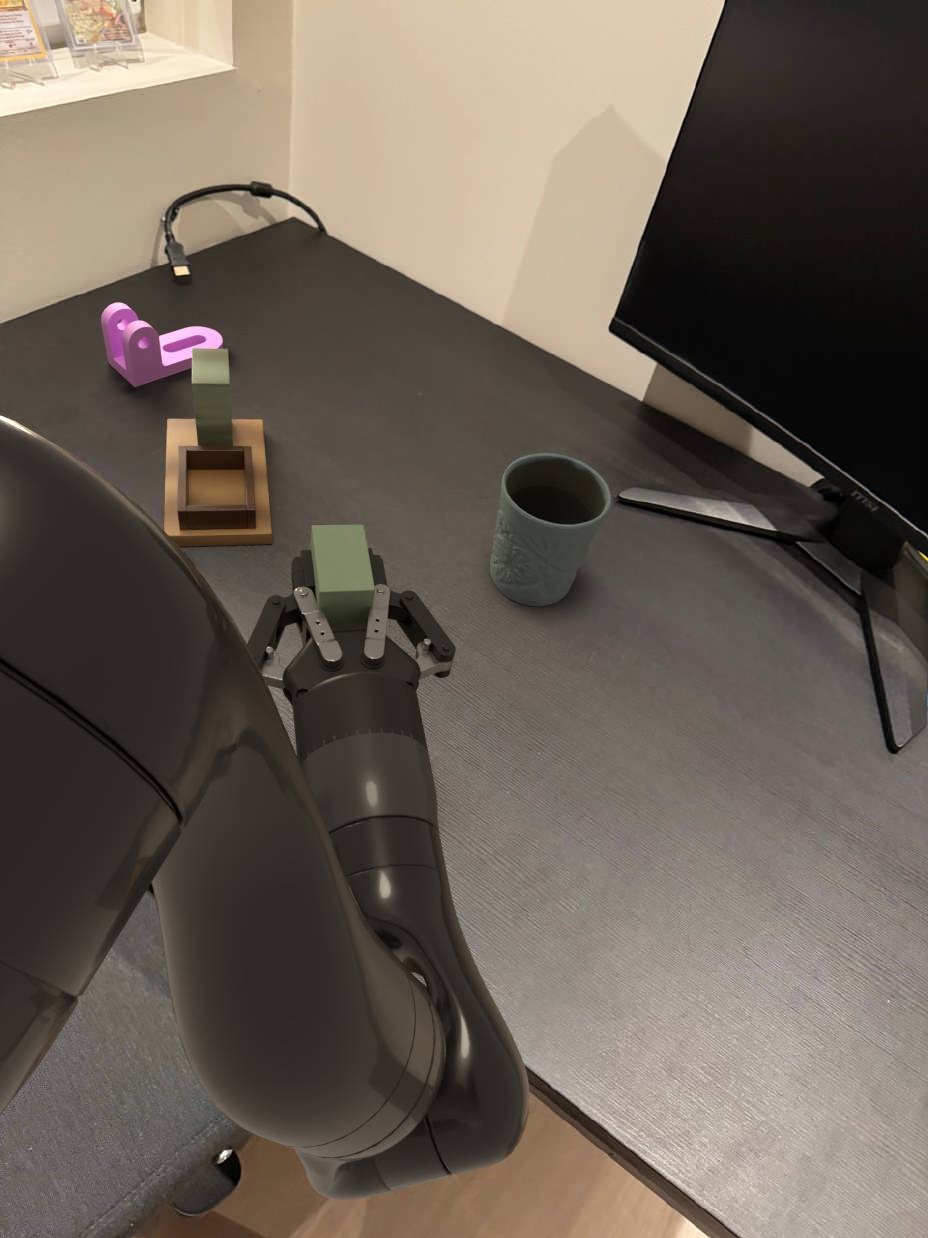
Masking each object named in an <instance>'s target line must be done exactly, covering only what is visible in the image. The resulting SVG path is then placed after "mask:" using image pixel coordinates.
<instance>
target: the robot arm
mask: <svg viewBox="0 0 928 1238" xmlns="http://www.w3.org/2000/svg"><path fill="white" fill-rule="evenodd" d="M368 553H369V558H370V564H371V570H372V575H373V581H374V587H375V594H374V602H373V608H371V607H370V609H369V617H368V625H359V626H356V627H352V628H340V627H330V626H329V623H328V621H327V619H326V616H325V614H324V612H323V610H322V609H321V610H318V603H317V601H316V598H315V579H314V570H313V561H312V553H311V548H304V549H303V548H302V549H300V556H293V558H292V560H291V567H290V569H291V571H290V572H291V575H290V577H291V588H292V593H290V594H289V595H286V596H282V595H280V594H272V595H270V596H269V597H267V599H266V601H265V603H264V606H263V608H262V610H261V612H260V614H259V617H258V619H257V621H256V623H255V625H254V628H253V630H252V632H251V634H250V637H249V638H248V641H247V642H246V640H245V638H244V636H243V635H242V632H241V631H240V629H239V627H238V625H237V623H236V622H235V621H234V619H233V617H232V616H231V614H230V613H229V611H228V609H227V608H226V607H225V605H224V604H223V602H222V600H221V599H220V598H219V596H218V595H217V593H216V592H215V591H214V589H213V588H212V587H211V585H210V584H209V582H208V581H207V580H206V578H205V577H204V575H203V574H202V573H201V571H200V570H199V569H198V567H197V566H196V564H195V563H194V562H193V561H192V560H191V558H189V556H188V554H186V553H185V552H184V550H183V549H182V548H181V546H180V547H179V546H178V545H177V544H176V543H175V542H174V541H173V540H172V538H171V537H170V536H169V535H168V534H167V533H166V532H165V531H164V528H162V527H161V526H160V525H159V524H158V523H157V522H156V521H155V520H154V519H153V518H152V517H151V516H150V515H149V514H148V513H147V512H146V511H145V510H144V509H143V508H142V507H141V505H139V504H138V503H137V501H135V500H134V499H133V498H131V497H130V496H129V495H128V494H126V492H124V491H122V490H121V489H120V488H119V487H118V486H116V485H115V484H114V483H113V482H111V481H109V479H107V478H106V477H104V476H103V475H102V474H101V473H99V472H98V471H96V470H95V469H94V468H93V467H91V466H90V465H89V464H88V463H86V462H85V461H84V460H82V459H81V458H79V457H78V456H77V455H75V454H73V453H72V452H70V451H68V450H66V449H65V448H63V447H61V446H59V445H58V444H56V443H54V442H52V441H50V440H48V439H47V438H45V437H44V436H42V435H40V434H38V433H37V432H35V431H33V430H32V429H30V428H28V427H26V426H24V425H23V424H21V423H19V422H18V421H15V420H13V419H10V418H8V417H5V416H3V415H1V414H0V1116H1V1115H2V1114H3V1112H5V1110H6V1109H7V1108H8V1106H9V1105H10V1104H11V1103H12V1102H13V1100H14V1099H15V1098H16V1096H17V1095H18V1094H19V1093H20V1092H21V1091H22V1089H23V1087H24V1086H25V1085H26V1083H27V1082H28V1081H29V1079H31V1076H32V1075H33V1074H34V1073H35V1071H36V1070H37V1069H38V1067H39V1066H40V1064H41V1063H42V1061H43V1060H44V1058H45V1056H46V1055H47V1054H48V1052H49V1050H50V1049H51V1048H52V1046H53V1044H54V1043H55V1041H56V1040H57V1038H58V1036H60V1033H61V1032H62V1030H63V1029H64V1027H65V1026H66V1024H67V1023H68V1021H69V1019H70V1018H71V1016H72V1014H73V1012H74V1011H75V1009H76V1007H77V1006H78V1005H79V998H78V997H81V996H83V995H84V993H85V991H86V990H87V989H88V987H89V985H90V983H91V982H92V980H93V979H94V977H95V976H96V973H97V972H98V970H99V969H100V967H101V965H103V962H104V961H105V959H106V957H107V956H108V954H109V952H110V951H111V950H112V947H113V946H114V945H115V943H116V941H117V940H118V938H119V936H120V934H121V933H122V931H123V930H124V928H125V927H126V925H127V923H128V921H129V920H130V918H131V917H132V915H133V913H134V911H135V910H136V908H137V906H138V905H139V904H140V902H141V900H142V899H143V897H144V895H145V894H146V892H147V890H148V889H149V887H150V886H152V890H153V891H152V892H153V895H154V900H155V905H156V910H157V914H158V920H159V925H160V932H161V938H162V945H163V950H164V959H165V966H166V967H165V968H166V974H167V981H168V988H169V995H170V1000H171V1006H172V1007H171V1008H172V1013H173V1016H174V1020H175V1024H176V1028H177V1031H178V1036H179V1039H180V1043H181V1047H182V1049H183V1052H184V1055H185V1057H186V1060H187V1062H188V1064H189V1067H190V1068H191V1070H192V1072H193V1074H194V1076H195V1078H196V1080H197V1082H198V1084H199V1086H200V1087H201V1089H202V1090H203V1092H204V1093H205V1094H206V1095H207V1097H208V1098H209V1099H210V1100H211V1102H212V1103H213V1104H214V1105H215V1106H216V1107H217V1109H218V1110H220V1112H221V1113H222V1114H224V1116H225V1117H227V1118H228V1119H229V1120H231V1121H232V1122H234V1123H235V1124H237V1125H238V1126H239V1127H240V1128H242V1129H243V1130H245V1131H248V1133H251V1134H252V1135H255V1136H258V1137H260V1138H262V1139H266V1140H268V1141H271V1142H273V1143H275V1144H278V1145H281V1146H284V1147H286V1148H289V1149H292V1150H293V1151H294V1152H295V1154H296V1155H297V1157H298V1158H299V1162H300V1164H301V1167H302V1170H303V1172H304V1175H305V1177H306V1179H307V1180H308V1183H309V1184H310V1186H311V1187H312V1188H313V1190H314V1191H315V1192H316V1193H317V1194H318V1195H320V1196H322V1197H324V1198H327V1199H330V1200H340V1201H351V1200H352V1201H353V1200H361V1199H367V1198H372V1197H376V1196H381V1195H384V1194H388V1193H393V1192H395V1191H398V1190H402V1189H406V1188H411V1187H414V1186H418V1185H422V1184H425V1183H430V1182H433V1181H437V1180H441V1179H445V1178H448V1177H449V1178H450V1177H452V1176H453V1175H454V1176H455V1175H460V1174H464V1173H469V1172H473V1171H477V1170H480V1169H484V1168H488V1167H490V1166H491V1167H492V1166H493V1165H496V1164H498V1163H501V1162H503V1161H504V1160H506V1159H507V1158H509V1156H511V1155H512V1153H513V1152H514V1151H515V1150H516V1148H517V1146H519V1144H520V1142H521V1139H522V1137H523V1135H524V1132H525V1129H526V1125H527V1121H528V1118H529V1114H530V1113H529V1112H530V1085H529V1078H528V1074H527V1070H526V1066H525V1063H524V1059H523V1057H522V1055H521V1053H520V1052H521V1051H520V1050H519V1048H518V1045H517V1042H516V1041H515V1039H514V1035H513V1034H512V1033H511V1030H510V1028H509V1027H508V1024H507V1023H506V1021H505V1019H504V1017H503V1014H502V1013H501V1011H500V1009H499V1008H498V1005H497V1004H496V1002H495V1000H494V997H493V996H492V994H491V992H490V989H488V987H487V984H486V983H485V981H484V978H483V977H482V976H483V975H482V974H481V972H480V970H479V968H478V966H477V964H476V962H475V959H474V957H473V955H472V952H471V949H470V947H469V945H468V943H467V940H466V938H465V935H464V932H463V928H462V926H461V923H460V920H459V917H458V914H457V911H456V907H455V904H454V900H453V895H452V891H451V886H450V881H449V876H448V870H447V865H446V860H445V855H444V850H443V845H442V839H441V835H440V828H439V827H440V826H439V816H438V796H437V789H436V784H435V778H434V774H433V769H432V763H431V758H430V753H429V748H428V743H427V738H426V733H425V728H424V722H423V718H422V712H421V708H420V702H419V697H418V692H417V690H418V688H419V685H420V682H419V681H420V680H422V679H425V678H427V677H430V676H435V677H436V678H437V679H446V678H447V677H448V676H450V674H451V670H452V666H453V662H454V658H455V654H456V650H457V647H456V646H455V643H453V641H452V640H451V638H450V637H449V635H447V633H446V632H445V630H444V629H443V627H441V625H440V623H439V622H438V621H437V619H436V618H435V617H434V615H433V614H432V613H431V611H430V610H429V608H428V607H427V606H426V604H425V602H423V600H422V599H421V598H420V596H419V595H418V594H417V593H416V592H415V591H414V590H407V589H406V590H404V591H402V592H401V593H400V592H397V591H393V590H392V589H390V587H389V586H388V581H387V575H386V570H385V565H384V564H385V563H384V560H383V558H382V557H381V555H380V554H374V553H373V548H372V547H368ZM388 620H393V621H396V624H397V625H398V626H399V628H400V629H401V630H402V632H403V633H404V634H405V637H407V639H408V640H409V642H410V643H411V644H412V646H413V647H414V649H415V653H414V654H415V655H414V658H413V657H412V656H411V655H410V654H408V653H407V651H405V650H404V649H403V648H402V647H400V645H398V644H397V643H396V642H395V641H394V640H393V639H391V638H390V637H389V636H388V635H387V626H388ZM293 624H295V625H296V628H297V630H298V633H299V636H300V638H301V643H302V644H301V645H302V648H301V649H300V650H299V651H298V653H296V654H295V656H294V657H293V659H292V660H291V661H290V662H289V664H288V665H287V667H284V666H282V665H281V664H280V662H281V661H280V654H279V652H278V651H277V649H278V646H279V644H280V641H281V639H282V637H283V635H284V632H285V629H286V627H287V626H291V625H293ZM269 687H273V688H277V689H282V693H283V695H284V697H285V698H286V699H287V701H288V702H289V704H290V705H291V708H292V716H293V726H294V727H293V728H294V740H295V748H294V746H293V743H292V741H291V739H290V735H289V733H288V731H287V728H286V726H285V723H284V721H283V719H282V716H281V715H280V711H279V709H278V707H277V704H276V702H275V700H274V697H273V694H272V692H271V690H270V688H269ZM414 974H416V975H419V976H420V977H422V978H423V981H424V983H425V986H426V988H425V987H424V985H423V984H422V983H421V981H419V980H418V978H417V977H416V976H415V975H414ZM426 989H427V990H426Z"/></svg>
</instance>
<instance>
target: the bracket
mask: <svg viewBox="0 0 928 1238" xmlns="http://www.w3.org/2000/svg"><path fill="white" fill-rule="evenodd" d="M100 316H101V317H100V324H101V329H102V330H101V331H102V336H103V341H104V346H105V347H104V348H105V352H106V357H107V364H109V365H110V366H111V367H112V368H113V369H114V370H115V371H116V372H118V374H120V375H121V376H122V377H123V378H124V379H125V381H127V382H128V383H129V384H131V386H132V387H134V388H138V387H140V386H143V385H146V384H150V383H152V382H156V381H158V380H161V379H164V378H166V377H170V376H172V375H176V374H178V373H182V372H184V371H188V370H190V369H192V348H209V349H224V343H223V342H224V341H223V336H222V335H221V334H220V333H219V332H218V331H216V330H215V329H213V328H210V327H205V326H188V327H184V328H181V329H178V330H175V331H171V332H168V333H165V334H161V335H160V334H159V333H158V331H157V330H156V329H155V328H153V326H152V325H150V324H149V323H148V322H146V321H144V320H139V316H138V314H137V312H135V311H134V310H133V309H132V308H130V307H129V306H128V305H127V304H125V303H123V302H113V303H111V304H109V305H107V307H105V309H104V310H103V312H102V314H101V315H100Z"/></svg>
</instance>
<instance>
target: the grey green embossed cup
mask: <svg viewBox="0 0 928 1238" xmlns="http://www.w3.org/2000/svg"><path fill="white" fill-rule="evenodd" d="M610 490H611V489H610V488H609V485H608V484H607V482H606V480H605V479H604V478H603V477H602V476H601V475H600V474H599V473H598V472H597V471H596V470H595V469H593V468H592V467H591V466H590V465H588V464H587V463H585V462H583V461H581V460H579V459H577V458H574V457H571V456H568V455H565V454H560V453H555V452H554V453H553V452H537V453H533V454H528V455H524V456H521V457H518V458H517V459H515V460H513V461H512V462H511V463H510V464H509V465H508V466H507V467H506V469H505V470H504V473H503V475H502V478H501V484H500V495H499V507H500V509H499V510H498V511H497V512H498V513H497V517H496V523H495V528H494V530H495V532H494V533H495V534H494V536H493V542H492V550H491V554H490V562H489V575H490V579H491V581H492V584H493V585H494V586H495V587H496V589H497V590H498V591H499V592H500V593H501V594H502V595H504V596H505V597H506V598H508V599H509V600H511V601H513V602H515V603H518V604H520V605H524V606H529V607H530V606H531V607H547V606H550V605H551V606H552V605H554V604H557V603H558V602H559V601H561V600H562V599H564V597H566V596H567V595H568V594H569V591H570V589H571V588H572V586H573V584H574V581H575V579H576V578H577V571H578V570H579V569H580V567H581V566H582V564H584V563H583V562H584V561H585V558H586V556H587V554H588V553H589V550H590V547H591V544H592V542H593V540H594V538H595V536H596V534H597V532H598V530H599V528H600V527H601V525H602V523H603V521H604V519H605V518H606V516H607V514H608V512H609V510H610V508H611V503H612V493H611V491H610Z"/></svg>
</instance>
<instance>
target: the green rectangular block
mask: <svg viewBox="0 0 928 1238" xmlns="http://www.w3.org/2000/svg"><path fill="white" fill-rule="evenodd" d="M310 532H311V533H310V549H311V553H312V561H313V570H314V579H315V598H316V601H317V603H318V610H321V609H322V610H323V612H324V614H325V616H326V619H327V621H328V623H329V626H330V627H340V628H352V627H356V626H359V625H368V617H369V609H370V607H371V608H373V602H374V594H375V587H374V581H373V575H372V570H371V564H370V558H369V553H368V548H369V547H368V542H367V536H366V531H365V525H364V524H320V525H319V524H315V525H311V529H310Z"/></svg>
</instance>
